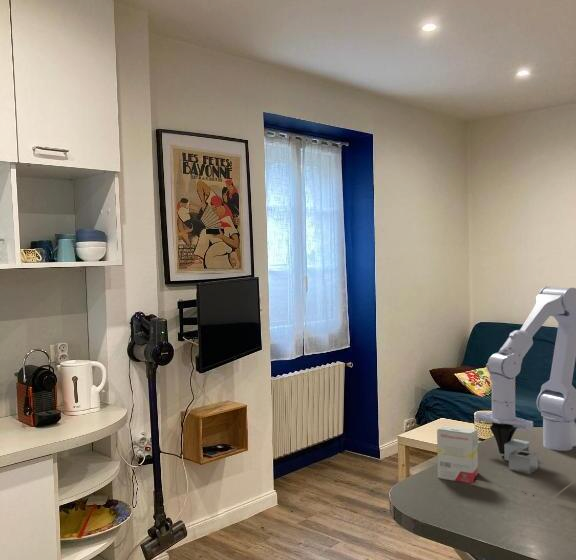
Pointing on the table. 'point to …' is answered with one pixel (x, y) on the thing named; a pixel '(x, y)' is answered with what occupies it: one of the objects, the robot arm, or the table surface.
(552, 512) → the table surface
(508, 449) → the block
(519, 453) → the block
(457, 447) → the ink box
